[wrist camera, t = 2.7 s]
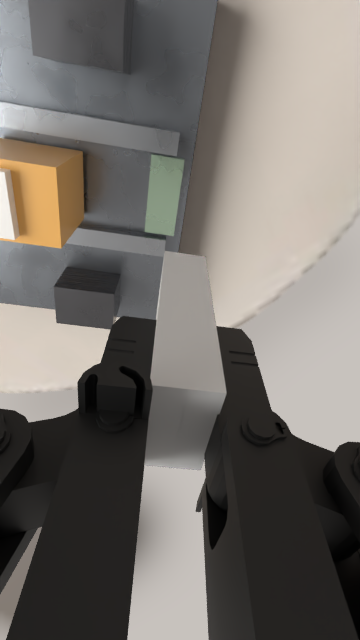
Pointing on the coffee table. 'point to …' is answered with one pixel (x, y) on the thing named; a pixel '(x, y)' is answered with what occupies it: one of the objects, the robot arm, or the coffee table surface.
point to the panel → (105, 143)
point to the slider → (40, 193)
